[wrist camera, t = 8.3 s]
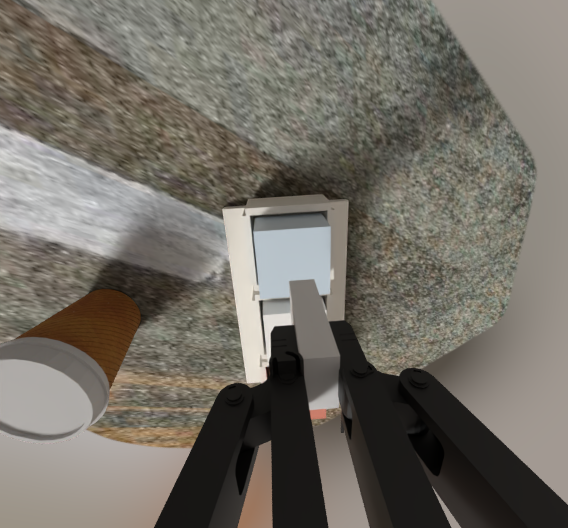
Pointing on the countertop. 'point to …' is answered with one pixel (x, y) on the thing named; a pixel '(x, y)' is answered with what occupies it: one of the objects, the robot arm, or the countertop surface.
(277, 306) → the white key
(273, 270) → the pale blue key
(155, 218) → the countertop surface
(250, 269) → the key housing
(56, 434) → the disposable coffee cup
